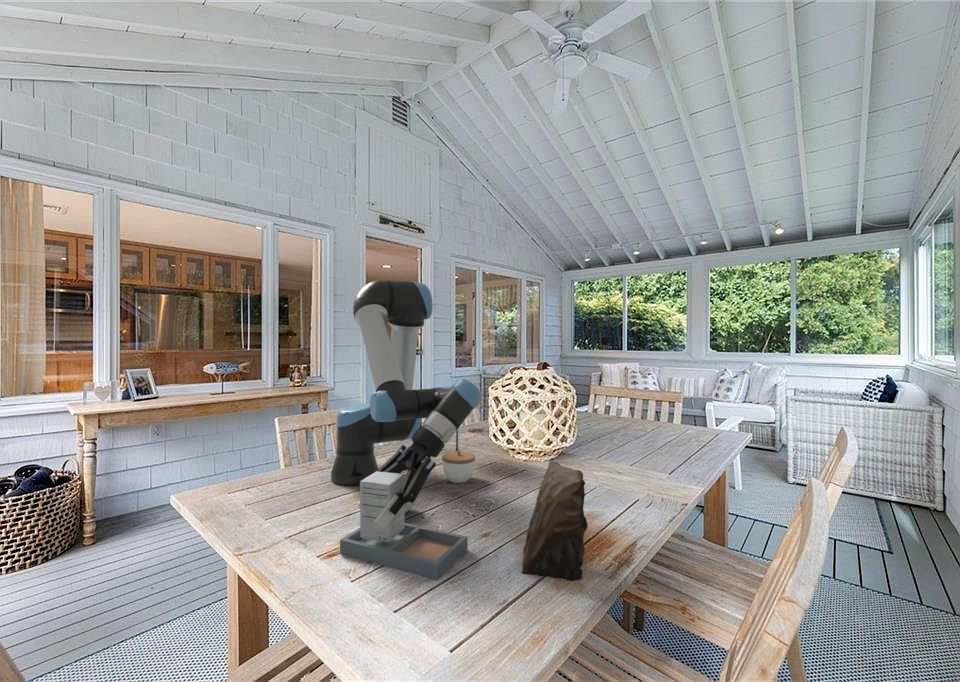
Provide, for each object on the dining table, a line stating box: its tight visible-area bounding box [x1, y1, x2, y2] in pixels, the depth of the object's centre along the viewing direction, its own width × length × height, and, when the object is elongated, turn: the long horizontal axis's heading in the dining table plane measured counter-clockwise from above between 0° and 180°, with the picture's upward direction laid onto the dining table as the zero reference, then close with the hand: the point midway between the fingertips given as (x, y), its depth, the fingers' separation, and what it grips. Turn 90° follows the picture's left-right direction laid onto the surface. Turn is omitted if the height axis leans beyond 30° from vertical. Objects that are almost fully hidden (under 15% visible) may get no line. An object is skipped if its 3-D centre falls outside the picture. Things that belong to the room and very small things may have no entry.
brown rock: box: [521, 460, 589, 582], centre depth 91 cm, size 13×13×20 cm
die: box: [404, 494, 417, 514], centre depth 117 cm, size 8×9×10 cm
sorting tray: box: [339, 522, 468, 581], centre depth 96 cm, size 24×13×3 cm, turn 66°
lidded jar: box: [441, 449, 476, 484], centre depth 144 cm, size 11×11×9 cm
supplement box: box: [359, 472, 405, 542], centre depth 99 cm, size 7×7×13 cm
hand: (369, 516), depth 97 cm, fingers open, 10 cm apart
